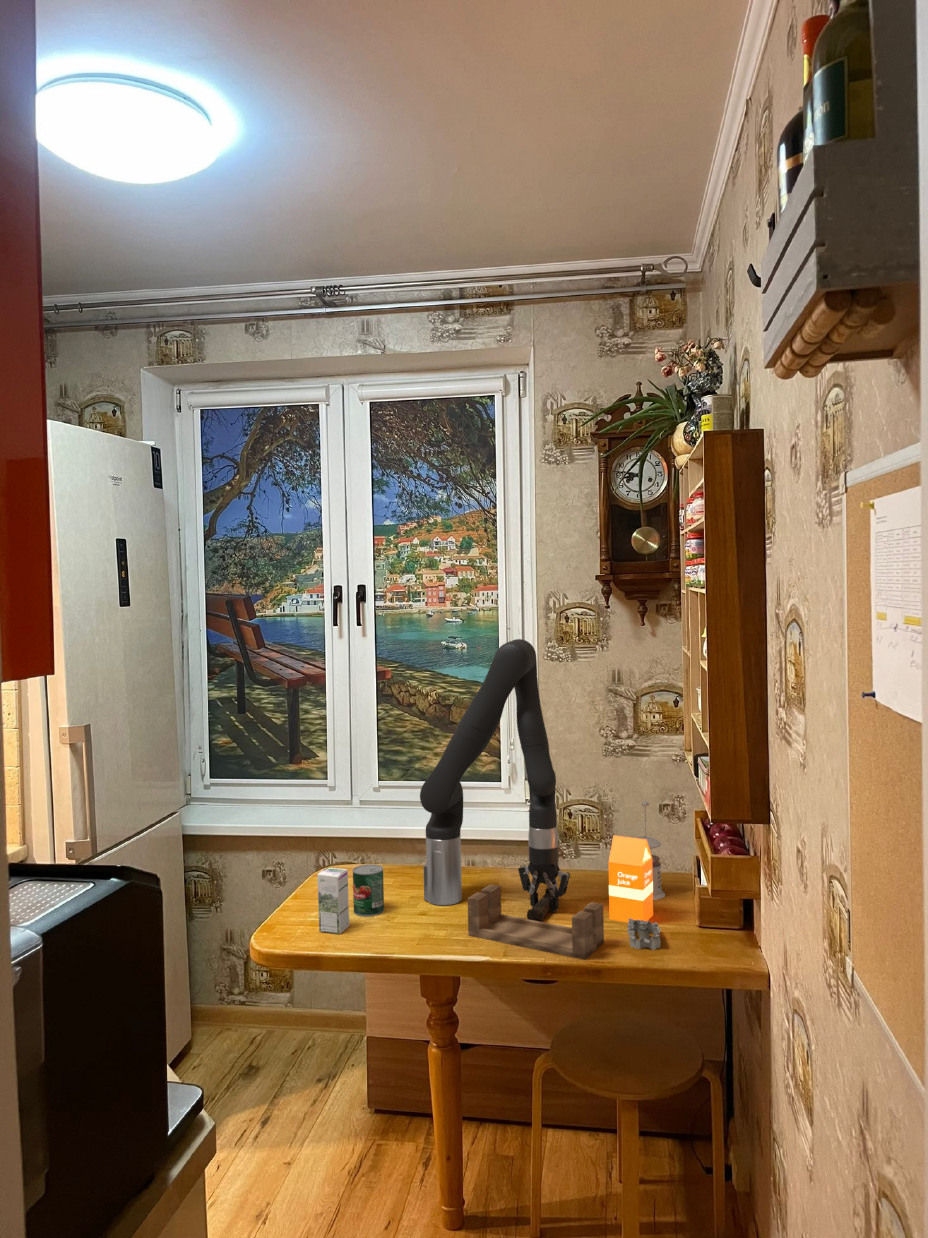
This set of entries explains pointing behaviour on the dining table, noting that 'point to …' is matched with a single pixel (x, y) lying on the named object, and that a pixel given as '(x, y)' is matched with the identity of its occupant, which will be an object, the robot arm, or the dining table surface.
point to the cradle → (535, 927)
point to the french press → (654, 862)
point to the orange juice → (630, 880)
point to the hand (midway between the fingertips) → (544, 909)
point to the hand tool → (540, 908)
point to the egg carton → (644, 934)
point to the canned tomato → (368, 890)
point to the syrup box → (333, 900)
